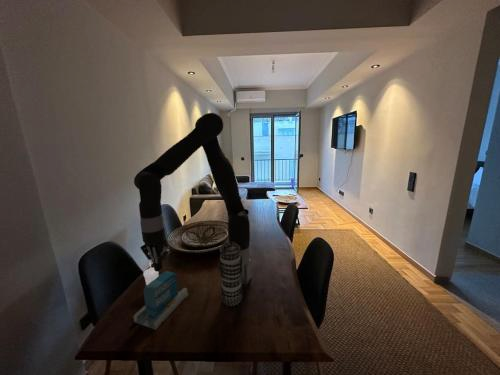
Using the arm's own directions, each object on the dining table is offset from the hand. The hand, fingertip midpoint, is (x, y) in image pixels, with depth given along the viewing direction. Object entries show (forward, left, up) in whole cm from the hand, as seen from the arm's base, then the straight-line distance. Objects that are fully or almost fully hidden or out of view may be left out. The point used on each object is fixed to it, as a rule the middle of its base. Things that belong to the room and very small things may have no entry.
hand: (158, 270), depth 77 cm
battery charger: (+13, -109, -18) cm, 111 cm away
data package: (0, 0, -16) cm, 16 cm away
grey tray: (0, 0, -17) cm, 17 cm away
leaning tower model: (-24, -13, -17) cm, 32 cm away
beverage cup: (+12, -7, -17) cm, 22 cm away
